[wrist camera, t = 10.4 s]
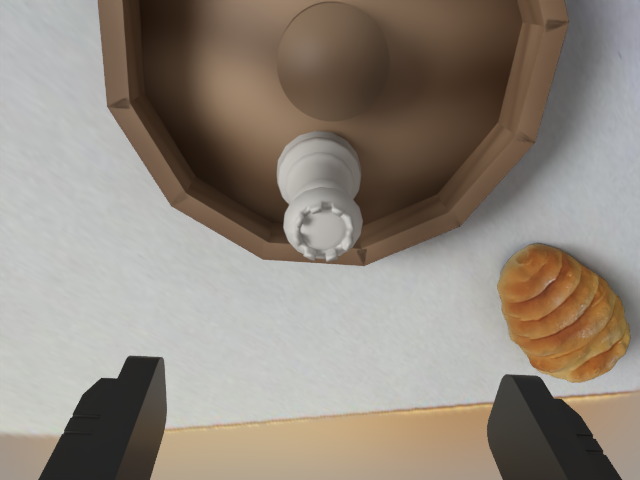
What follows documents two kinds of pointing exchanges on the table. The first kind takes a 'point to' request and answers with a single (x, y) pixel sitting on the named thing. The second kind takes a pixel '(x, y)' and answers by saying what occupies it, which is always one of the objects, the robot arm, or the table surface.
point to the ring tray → (397, 138)
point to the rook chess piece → (320, 194)
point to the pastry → (562, 314)
